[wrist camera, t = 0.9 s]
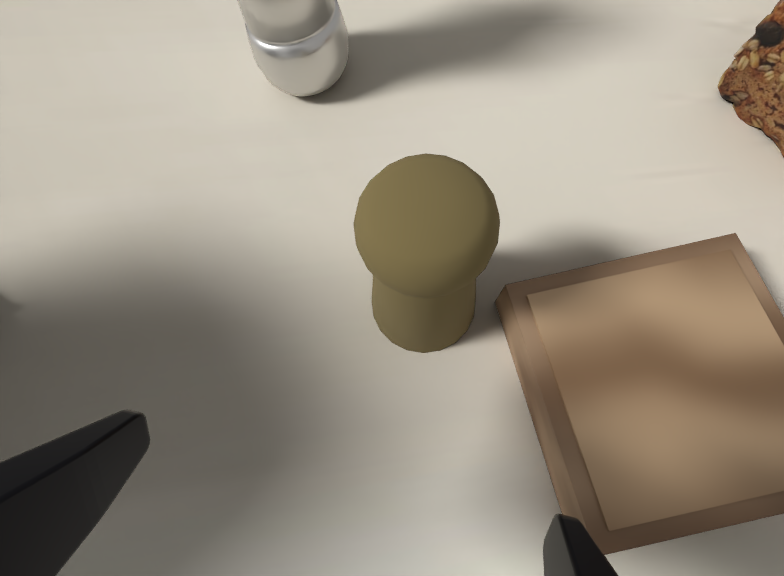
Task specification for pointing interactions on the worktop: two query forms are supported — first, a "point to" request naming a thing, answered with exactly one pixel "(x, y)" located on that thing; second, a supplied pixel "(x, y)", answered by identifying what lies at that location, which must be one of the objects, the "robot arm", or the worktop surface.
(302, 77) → the plastic bottle
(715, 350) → the plate
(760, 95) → the bread
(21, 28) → the worktop surface
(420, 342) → the cork
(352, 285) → the worktop surface
